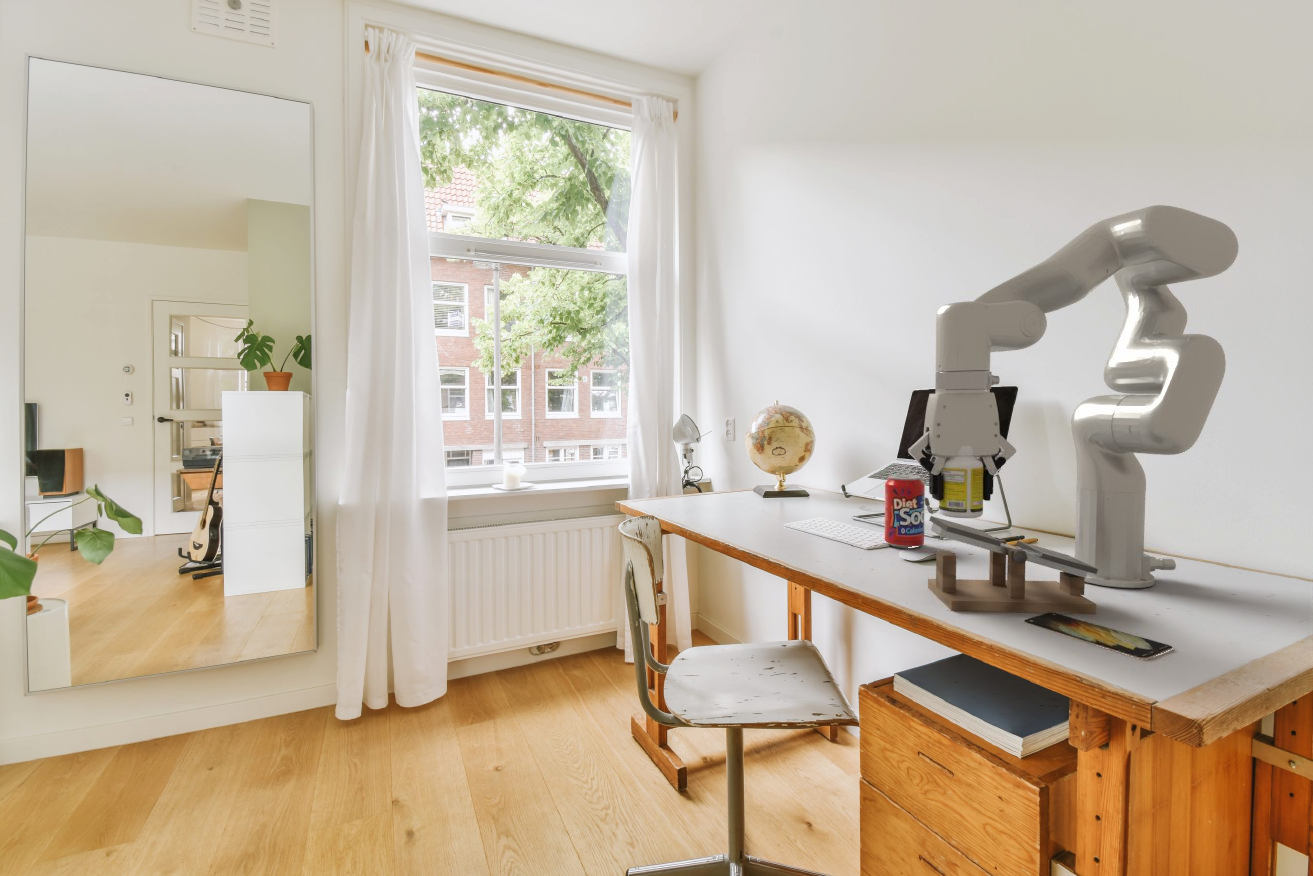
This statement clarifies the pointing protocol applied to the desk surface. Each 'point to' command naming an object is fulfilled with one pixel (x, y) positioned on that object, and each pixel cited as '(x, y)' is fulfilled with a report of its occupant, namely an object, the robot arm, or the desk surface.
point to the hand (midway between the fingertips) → (960, 498)
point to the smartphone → (1099, 635)
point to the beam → (1010, 547)
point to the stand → (1008, 588)
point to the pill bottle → (962, 485)
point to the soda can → (904, 511)
